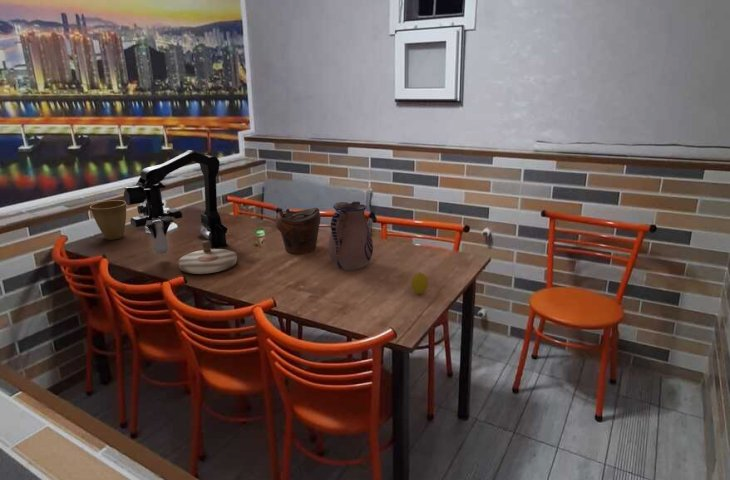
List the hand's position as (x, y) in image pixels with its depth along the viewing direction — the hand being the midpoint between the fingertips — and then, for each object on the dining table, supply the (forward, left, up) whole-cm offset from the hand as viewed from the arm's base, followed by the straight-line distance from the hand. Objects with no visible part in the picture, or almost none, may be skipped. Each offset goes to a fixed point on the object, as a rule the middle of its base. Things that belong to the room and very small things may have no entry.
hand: (159, 238), depth 201 cm
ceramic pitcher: (-47, +61, -10) cm, 78 cm away
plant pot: (+3, -46, -10) cm, 47 cm away
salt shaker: (0, 0, -6) cm, 6 cm away
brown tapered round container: (-47, +30, -10) cm, 57 cm away
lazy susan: (-10, +19, -8) cm, 23 cm away
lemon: (-47, +96, -10) cm, 107 cm away
